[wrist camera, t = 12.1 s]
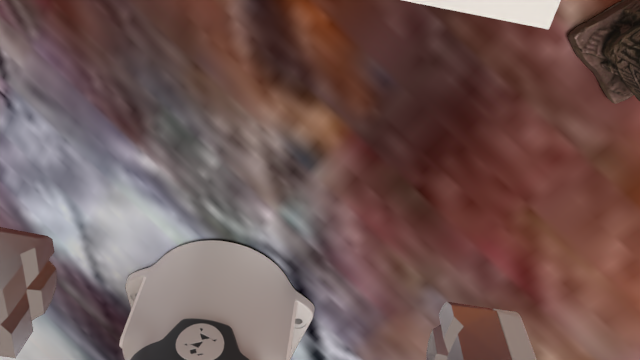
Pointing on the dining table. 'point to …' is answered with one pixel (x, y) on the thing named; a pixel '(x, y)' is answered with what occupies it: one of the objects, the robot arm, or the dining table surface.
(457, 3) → the frame
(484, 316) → the robot arm
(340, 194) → the dining table surface
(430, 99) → the dining table surface
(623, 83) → the statue
